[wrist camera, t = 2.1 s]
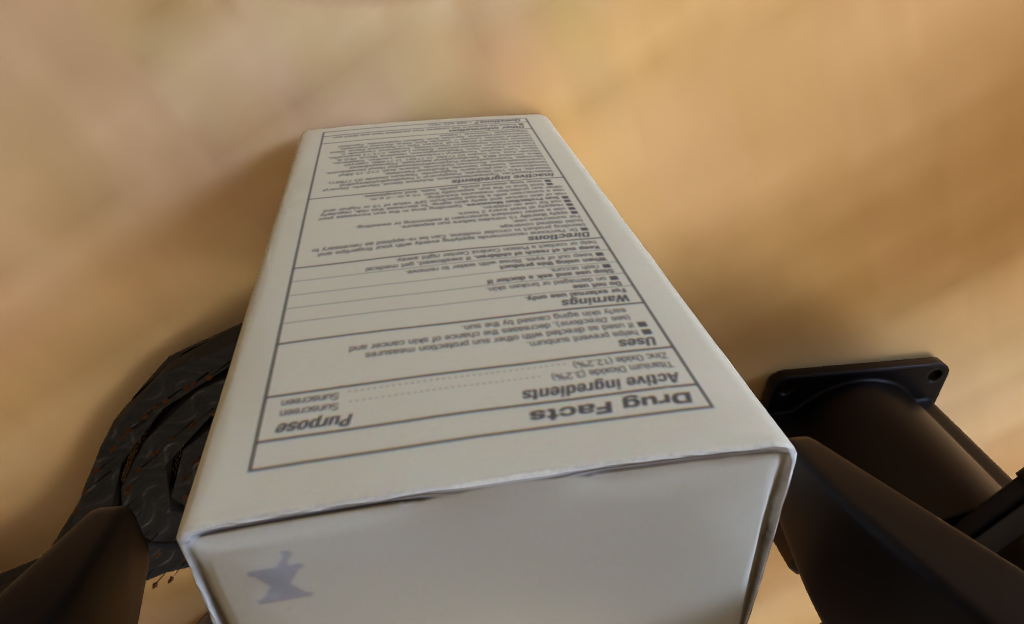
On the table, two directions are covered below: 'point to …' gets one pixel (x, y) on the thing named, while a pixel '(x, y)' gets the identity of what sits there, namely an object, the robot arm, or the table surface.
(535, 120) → the cosmetic box
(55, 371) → the table surface
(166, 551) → the hairbrush
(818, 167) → the table surface
